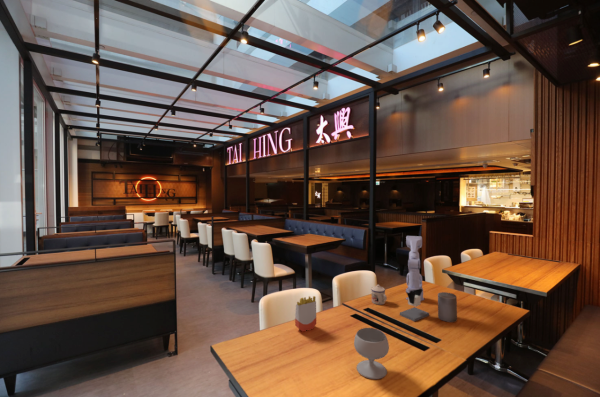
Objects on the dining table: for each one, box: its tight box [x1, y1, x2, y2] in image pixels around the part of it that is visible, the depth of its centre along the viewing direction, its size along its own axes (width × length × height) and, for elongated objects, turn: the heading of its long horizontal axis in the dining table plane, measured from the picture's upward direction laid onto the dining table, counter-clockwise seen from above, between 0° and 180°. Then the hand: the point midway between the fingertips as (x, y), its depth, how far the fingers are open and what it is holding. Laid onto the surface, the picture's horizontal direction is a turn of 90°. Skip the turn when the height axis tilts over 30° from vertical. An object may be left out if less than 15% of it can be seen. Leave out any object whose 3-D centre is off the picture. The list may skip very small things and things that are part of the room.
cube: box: [407, 295, 421, 308], centre depth 164 cm, size 5×5×5 cm
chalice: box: [353, 327, 390, 380], centre depth 114 cm, size 14×14×15 cm
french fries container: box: [294, 295, 317, 332], centre depth 149 cm, size 5×11×18 cm, turn 118°
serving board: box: [399, 306, 430, 322], centre depth 164 cm, size 14×10×2 cm
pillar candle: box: [437, 291, 458, 323], centre depth 159 cm, size 10×10×15 cm
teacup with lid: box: [370, 284, 388, 306], centre depth 183 cm, size 12×9×12 cm
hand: (414, 301), depth 164 cm, fingers closed on cube, 5 cm apart
